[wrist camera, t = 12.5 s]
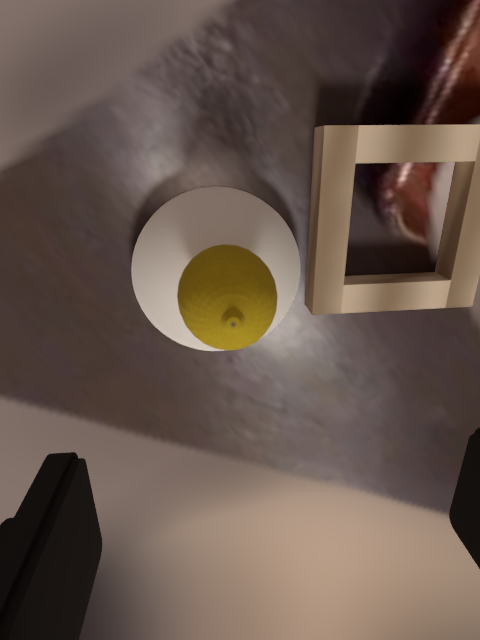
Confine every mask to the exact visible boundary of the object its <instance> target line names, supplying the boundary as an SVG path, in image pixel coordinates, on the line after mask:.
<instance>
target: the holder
mask: <svg viewBox="0 0 480 640" xmlns="http://www.w3.org/2000/svg"><path fill="white" fill-rule="evenodd" d="M400 162H455V166H454V171H453V177H452V182H451V187H450V193H449V199H448V203H447V209H446V214H445V220H444V225H443V230H442V235H441V241H440V246H439V251H438V257H437V262H436V267H435V272H427V273H404V274H381V275H357V276H345V266H346V256H347V245H348V235H349V224H350V214H351V203H352V193H353V182H354V172H355V163H400ZM479 275H480V124H477V125H325V126H320V127H315V131H314V148H313V166H312V184H311V202H310V220H309V238H308V255H307V273H306V291H305V305H306V307H307V308H308V309H309V311H310V312H311V314H312V315H317V314H336V313H356V312H375V311H394V310H414V309H433V308H452V307H472V305H473V301H474V297H475V292H476V288H477V284H478V280H479Z"/></svg>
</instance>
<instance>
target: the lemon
mask: <svg viewBox="0 0 480 640" xmlns="http://www.w3.org/2000/svg"><path fill="white" fill-rule="evenodd" d="M177 299H178V306H179V311H180V314H181V316H182V318H183V321H184V323H185V325H186V327H187V328H188V329H189V330H190V331H191V333H192V334H193V335H194V336H195V337H196V338H197V339H199V340H200V341H201V342H203V343H204V344H206V345H208V346H211V347H213V348H215V349H221V350H237V349H241V348H244V347H247V346H249V345H251V344H253V343H255V342H256V341H258V340H259V339H260V338H261V337H262V336H263V335H264V334H265V333H266V331H267V330H268V328H269V327H270V326H271V324H272V322H273V319H274V316H275V313H276V308H277V290H276V284H275V280H274V278H273V276H272V274H271V272H270V270H269V268H268V267H267V265H266V264H265V263H264V262H263V261H262V260H261V258H260V257H258V256H257V255H255V254H254V253H253V252H251V251H250V250H248V249H245V248H242V247H239V246H237V245H226V244H224V245H218V246H212V247H210V248H208V249H205V250H203V251H201V252H200V253H199V254H197V255H196V256H195V257H194V258H192V259H191V261H190V262H189V263H188V265H187V266H186V267H185V269H184V271H183V273H182V275H181V278H180V280H179V285H178V293H177Z"/></svg>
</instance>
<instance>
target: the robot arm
mask: <svg viewBox="0 0 480 640" xmlns="http://www.w3.org/2000/svg"><path fill="white" fill-rule="evenodd" d="M449 517H450V522H451V524H452V527H453V529H454V530H455V532H456V533H457V535H458V537H459V538H460V540H461V541H462V542H463V544H464V545H465V547H466V549H467V550H468V552H469V553H470V555H471V556H472V558H473V559H474V561H475V562H476V564H477V565H478V567H479V569H480V428H478V429H477V430H476V431H475V433H474V434H472V435H471V436H470V438H469V440H468V444H467V448H466V452H465V456H464V459H463V463H462V467H461V471H460V474H459V478H458V482H457V486H456V490H455V493H454V497H453V501H452V505H451V508H450V513H449ZM101 552H102V537H101V532H100V528H99V523H98V518H97V513H96V508H95V504H94V500H93V494H92V489H91V484H90V480H89V475H88V470H87V465H86V461H85V459H83V458H81V459H78V456H77V454H76V453H74V452H71V453H56V454H49V455H47V457H46V459H45V460H44V462H43V464H42V466H41V468H40V470H39V471H38V473H37V475H36V477H35V479H34V481H33V483H32V485H31V487H30V488H29V490H28V492H27V494H26V496H25V498H24V500H23V502H22V503H21V505H20V507H19V509H18V511H17V513H16V515H15V517H14V518H8V519H6V520H5V521H4V522H2V524H1V525H0V640H79V637H80V633H81V629H82V625H83V621H84V618H85V614H86V610H87V606H88V602H89V599H90V595H91V591H92V588H93V583H94V580H95V576H96V572H97V569H98V565H99V561H100V557H101Z"/></svg>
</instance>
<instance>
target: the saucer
mask: <svg viewBox="0 0 480 640" xmlns="http://www.w3.org/2000/svg"><path fill="white" fill-rule="evenodd" d="M224 244H226V245H237V246H239V247H242V248H245V249H248V250H250V251H251V252H253V253H254V254H255V255H257V256H258V257H260V258H261V260H262V261H263V262H264V263H265V264H266V265H267V267H268V268H269V270H270V272H271V274H272V276H273V278H274V280H275V284H276V290H277V308H276V313H275V316H274V319H273V322H272V324H271V326H270V327H269V328H268V330H267V331H266V333H265V334H264V335H263V336H265V335H266V334H268V333H269V332H270V331H271V330H273V329H274V328H275V327H276V326H277V325H278V324H279V323H280V322H281V320H282V319H283V318H284V316H285V315H286V314H287V312H288V311H289V309H290V307H291V305H292V303H293V301H294V299H295V296H296V294H297V290H298V286H299V281H300V257H299V251H298V247H297V244H296V241H295V239H294V236H293V234H292V232H291V230H290V228H289V227H288V225H287V224H286V222H285V221H284V220H283V218H282V217H281V216H280V215H279V214H278V213H277V212H276V211H275V210H274V209H273V208H272V207H271V206H270V205H268V204H267V203H265V202H264V201H262V200H261V199H259V198H258V197H256V196H254V195H252V194H250V193H248V192H246V191H243V190H240V189H237V188H231V187H226V186H206V187H200V188H195V189H191V190H188V191H186V192H183V193H181V194H179V195H177V196H175V197H173V198H172V199H170V200H169V201H167V202H166V203H165V204H163V205H162V206H161V207H160V208H159V209H158V210H157V211H156V212H155V213H154V214H153V215H152V216H151V218H150V219H149V220H148V222H147V223H146V224H145V226H144V228H143V230H142V231H141V233H140V235H139V237H138V240H137V242H136V245H135V248H134V252H133V257H132V267H131V271H132V282H133V288H134V292H135V295H136V298H137V300H138V302H139V304H140V306H141V308H142V310H143V312H144V313H145V315H146V316H147V318H148V319H149V320H150V321H151V322H152V324H153V325H154V326H155V327H156V328H157V329H158V330H160V331H161V332H162V333H163V334H165V335H166V336H167V337H169V338H170V339H172V340H174V341H176V342H178V343H180V344H182V345H185V346H188V347H191V348H195V349H199V350H206V351H224V350H221V349H215V348H213V347H211V346H208V345H206V344H204V343H203V342H201V341H200V340H199V339H197V338H196V337H195V336H194V335H193V334H192V333H191V331H190V330H189V329H188V328H187V327H186V325H185V323H184V321H183V318H182V316H181V314H180V311H179V306H178V299H177V293H178V285H179V280H180V278H181V275H182V273H183V271H184V269H185V267H186V266H187V265H188V263H189V262H190V261H191V259H192V258H194V257H195V256H196V255H197V254H199V253H200V252H201V251H203V250H205V249H208V248H210V247H212V246H218V245H224ZM263 336H262V337H263ZM262 337H261V338H262Z"/></svg>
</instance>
